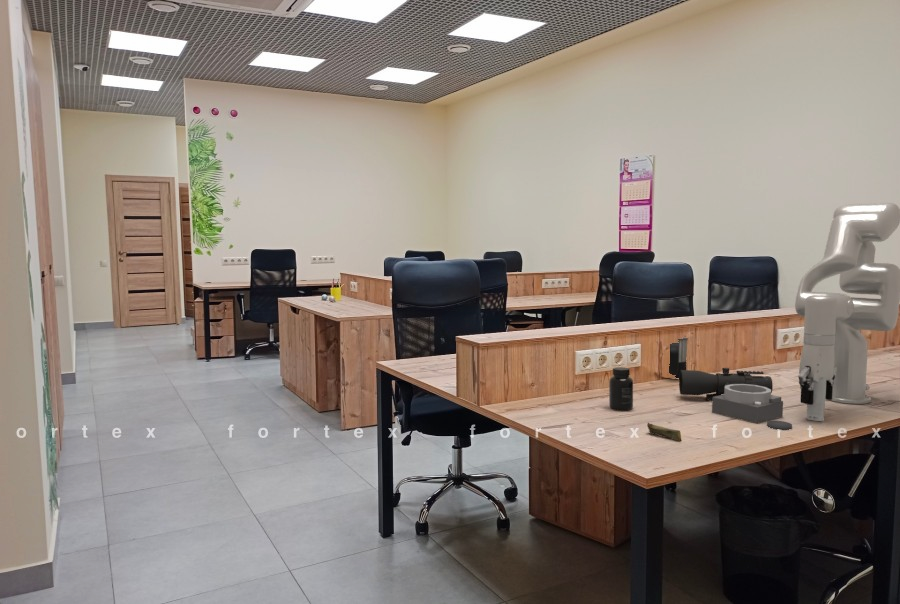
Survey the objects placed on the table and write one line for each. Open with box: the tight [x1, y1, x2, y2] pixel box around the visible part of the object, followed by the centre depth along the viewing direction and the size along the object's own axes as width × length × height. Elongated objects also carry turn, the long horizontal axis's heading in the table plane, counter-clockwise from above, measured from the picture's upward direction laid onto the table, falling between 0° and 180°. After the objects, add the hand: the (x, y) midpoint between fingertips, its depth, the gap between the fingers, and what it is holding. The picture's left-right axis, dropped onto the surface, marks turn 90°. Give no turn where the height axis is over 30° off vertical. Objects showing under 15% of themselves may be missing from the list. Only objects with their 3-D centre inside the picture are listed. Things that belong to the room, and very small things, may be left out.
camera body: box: [711, 384, 784, 424], centre depth 186 cm, size 12×14×8 cm
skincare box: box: [806, 377, 826, 422], centre depth 181 cm, size 6×4×12 cm
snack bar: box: [647, 422, 682, 442], centre depth 165 cm, size 10×2×3 cm, turn 37°
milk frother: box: [669, 337, 689, 378], centre depth 234 cm, size 14×16×15 cm
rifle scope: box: [678, 367, 774, 402], centre depth 203 cm, size 10×26×10 cm, turn 78°
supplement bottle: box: [608, 366, 634, 412], centre depth 193 cm, size 7×7×12 cm
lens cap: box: [766, 420, 793, 431], centre depth 174 cm, size 6×6×1 cm
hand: (816, 401), depth 181 cm, fingers open, 9 cm apart
